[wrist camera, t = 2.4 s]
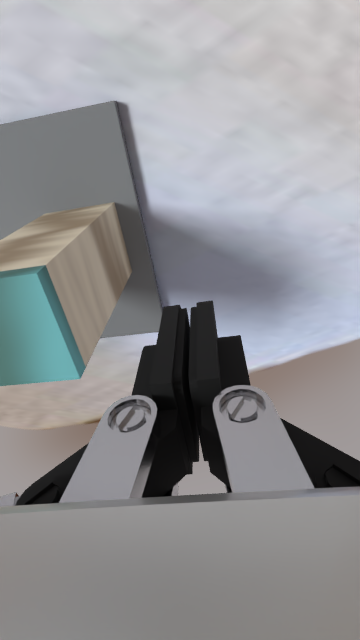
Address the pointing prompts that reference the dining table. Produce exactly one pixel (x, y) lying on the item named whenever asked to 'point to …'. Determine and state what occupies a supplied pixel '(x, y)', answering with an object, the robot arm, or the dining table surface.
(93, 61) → the dining table surface
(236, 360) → the robot arm
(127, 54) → the dining table surface
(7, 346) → the birch block
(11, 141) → the rubber mat
